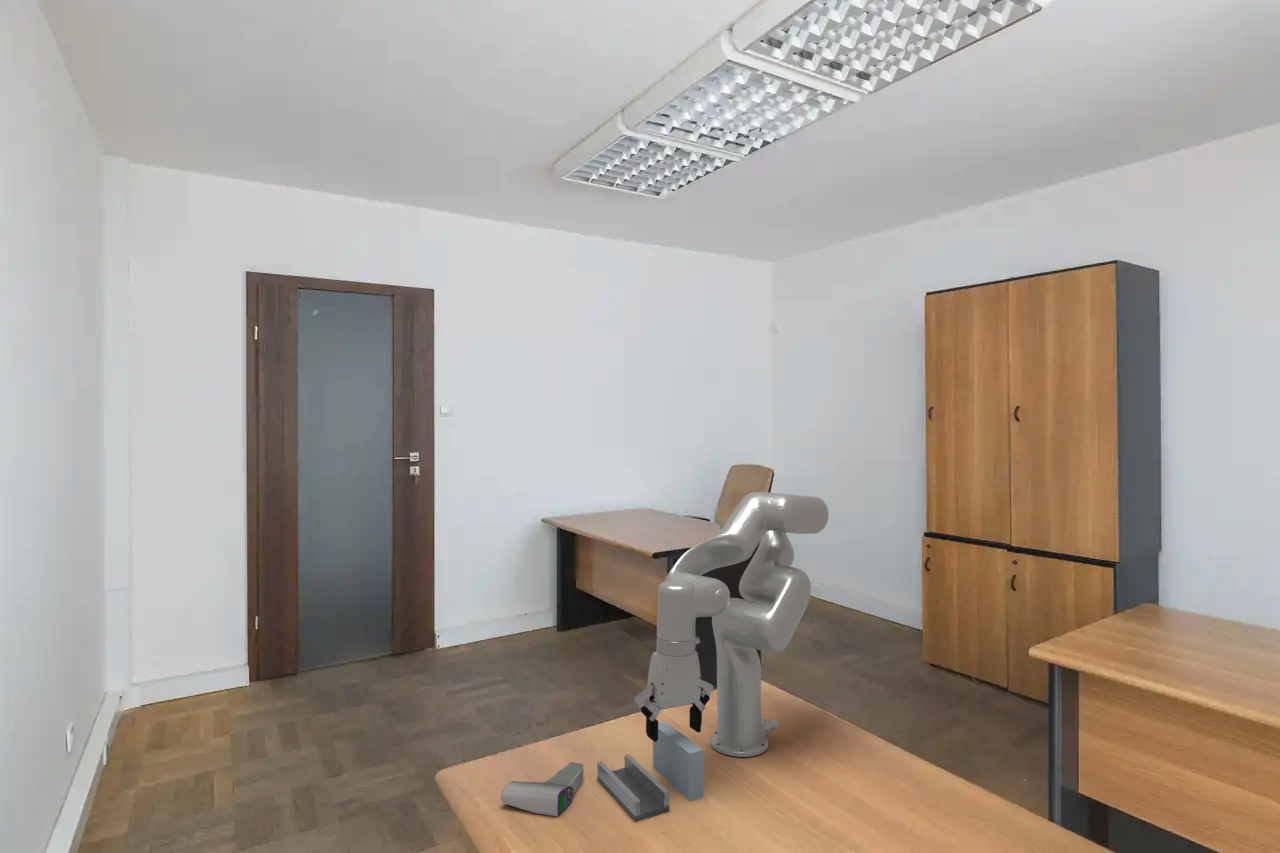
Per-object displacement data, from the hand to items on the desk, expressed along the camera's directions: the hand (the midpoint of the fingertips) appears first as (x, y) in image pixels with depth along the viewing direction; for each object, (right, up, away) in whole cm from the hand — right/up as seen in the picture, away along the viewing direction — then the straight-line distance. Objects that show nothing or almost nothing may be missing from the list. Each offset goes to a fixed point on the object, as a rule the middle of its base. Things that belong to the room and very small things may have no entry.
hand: (674, 734), depth 133 cm
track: (-8, -10, -4) cm, 13 cm away
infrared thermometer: (-25, -10, -3) cm, 27 cm away
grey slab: (+1, -10, +1) cm, 10 cm away
